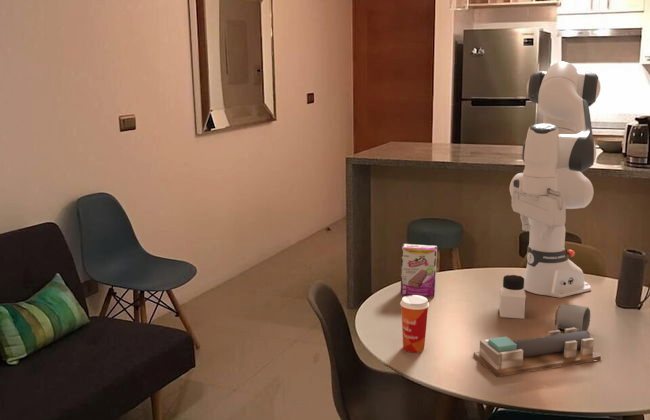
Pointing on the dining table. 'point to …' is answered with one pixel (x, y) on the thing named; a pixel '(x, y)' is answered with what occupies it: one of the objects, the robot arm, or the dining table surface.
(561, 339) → the grey and teal rod
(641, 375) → the dining table surface
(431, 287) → the candy bar box
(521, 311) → the medicine bottle
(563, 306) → the ceramic mug
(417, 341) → the paper cup
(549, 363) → the wooden cradle
